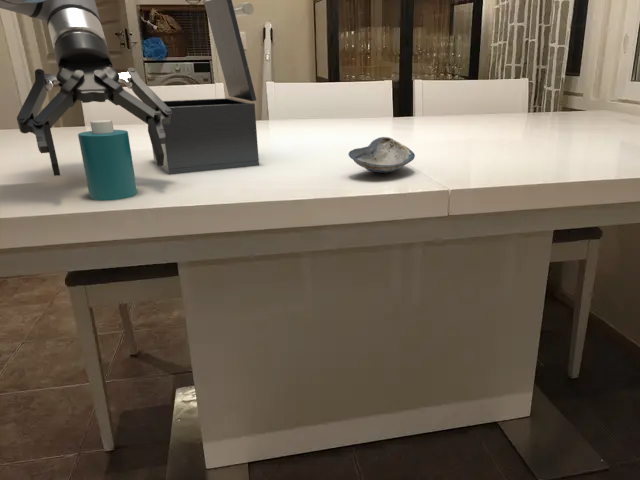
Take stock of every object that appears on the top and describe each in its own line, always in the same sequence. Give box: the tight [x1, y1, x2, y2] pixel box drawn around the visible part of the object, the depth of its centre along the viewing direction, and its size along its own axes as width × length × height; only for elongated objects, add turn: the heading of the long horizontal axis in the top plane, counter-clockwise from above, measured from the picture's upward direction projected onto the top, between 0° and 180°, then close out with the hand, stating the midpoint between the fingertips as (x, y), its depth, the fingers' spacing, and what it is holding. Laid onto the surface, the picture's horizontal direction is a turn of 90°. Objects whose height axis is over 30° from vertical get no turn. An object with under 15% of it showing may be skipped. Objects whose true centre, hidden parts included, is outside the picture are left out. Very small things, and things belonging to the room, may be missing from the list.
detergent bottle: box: [77, 119, 138, 202], centre depth 79 cm, size 6×6×11 cm
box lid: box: [203, 0, 257, 102], centre depth 100 cm, size 17×14×6 cm
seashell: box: [348, 136, 416, 174], centre depth 95 cm, size 15×12×5 cm
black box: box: [151, 97, 260, 176], centre depth 102 cm, size 16×14×11 cm
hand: (110, 165), depth 78 cm, fingers open, 13 cm apart
